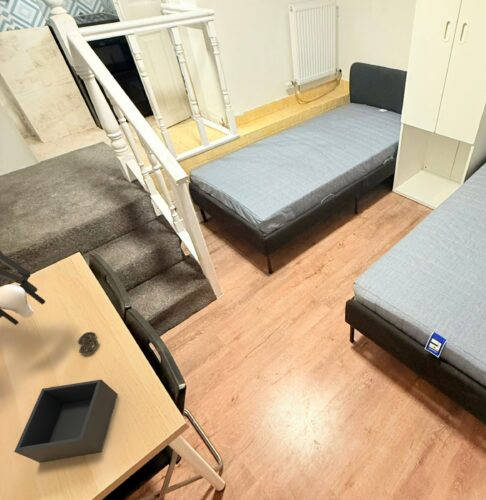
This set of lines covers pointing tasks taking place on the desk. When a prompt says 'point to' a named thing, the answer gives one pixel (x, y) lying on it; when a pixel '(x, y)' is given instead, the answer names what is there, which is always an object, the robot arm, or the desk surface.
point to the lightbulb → (15, 300)
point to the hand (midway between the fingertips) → (30, 312)
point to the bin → (68, 421)
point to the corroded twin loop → (87, 343)
